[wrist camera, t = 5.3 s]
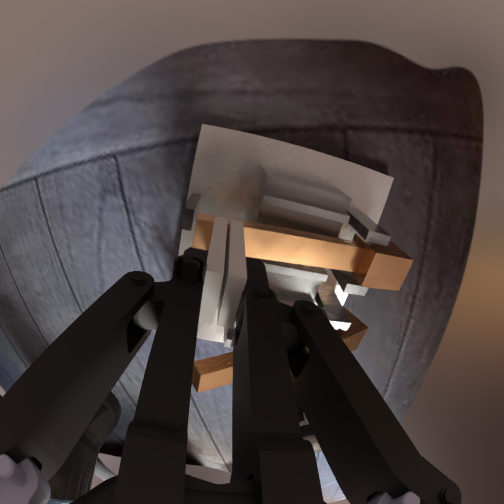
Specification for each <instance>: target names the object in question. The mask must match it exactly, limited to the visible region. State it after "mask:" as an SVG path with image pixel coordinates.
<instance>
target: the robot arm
mask: <svg viewBox="0 0 504 504" xmlns="http://www.w3.org/2000/svg"><path fill="white" fill-rule="evenodd" d="M227 222H228V218H223V217H218V216H215V221H214V226H213V231H212V236H211V241H210V246H209V251H208V250H203V249H198V248H193V247H189V248H188V249H186V250H185V251H184V253H183V255H181V256H178V257H177V258H176V259H175V263H174V271H173V278H172V280H170V281H166V282H154V278H153V277H152V276H151V275H150V274H148V273H146V272H141V271H133V272H129V273H127V274H125V275H124V276H123V277H122V278H120V279H119V280H118V281H117V282H116V283H115V284H114V285H113V286H111V287H110V288H109V289H108V290H107V291H106V292H105V293H104V294H103V295H102V296H101V297H99V298H98V299H97V300H96V301H95V302H94V303H93V304H92V305H91V306H90V307H89V308H88V309H87V310H86V311H85V312H83V313H82V314H81V315H80V316H79V317H78V318H77V319H76V320H75V321H74V322H73V323H72V324H71V325H70V326H69V327H68V328H67V329H66V330H65V331H64V332H63V333H62V334H61V335H60V336H59V337H58V338H57V339H56V340H55V341H54V342H53V343H52V344H51V345H50V346H49V347H48V348H47V349H46V350H45V351H44V352H43V353H42V354H41V355H40V356H39V357H38V358H37V359H36V361H35V362H34V363H33V364H32V365H31V366H30V367H29V368H28V369H27V370H26V371H25V372H24V373H23V375H22V376H21V377H20V378H19V379H18V380H17V381H16V382H15V383H14V384H13V386H12V387H11V388H10V389H9V390H8V391H7V392H6V394H5V395H4V396H3V397H2V396H1V395H0V504H327V503H325V502H324V501H323V496H322V490H321V484H320V479H319V473H318V468H317V463H316V457H315V452H314V448H313V445H312V444H311V442H310V441H308V440H304V439H303V437H302V435H301V429H300V424H299V418H298V412H297V406H296V401H295V395H296V398H297V400H298V402H299V404H300V406H301V408H302V410H303V412H304V414H305V417H306V419H307V421H308V423H309V425H310V427H311V429H312V431H313V433H314V435H315V437H316V439H317V441H318V444H319V446H320V448H321V450H322V452H323V454H324V456H325V458H326V460H327V462H328V464H329V466H330V468H331V470H332V472H333V474H334V476H335V478H336V480H337V482H338V484H339V486H340V488H341V490H342V492H343V493H344V495H345V497H346V498H347V500H348V501H349V502H350V504H460V503H461V492H460V489H459V487H458V486H457V485H456V484H455V483H454V482H453V481H451V480H450V479H449V478H448V477H447V476H445V475H444V474H443V473H442V472H440V471H439V470H438V469H437V468H435V467H434V466H433V465H432V464H431V463H430V462H428V461H427V460H426V459H425V458H424V457H422V456H421V455H420V454H419V452H418V451H417V449H416V448H415V446H414V445H413V443H412V442H411V440H410V438H409V437H408V435H407V434H406V432H405V431H404V429H403V428H402V426H401V425H400V423H399V422H398V420H397V419H396V417H395V416H394V414H393V413H392V411H391V410H390V408H389V407H388V405H387V404H386V402H385V401H384V399H383V398H382V396H381V395H380V393H379V392H378V390H377V389H376V387H375V386H374V385H373V383H372V382H371V380H370V379H369V377H368V376H367V374H366V373H365V371H364V370H363V368H362V367H361V366H360V364H359V363H358V361H357V360H356V358H355V357H354V355H353V354H352V353H351V351H350V350H349V348H348V347H347V345H346V344H345V343H344V341H343V340H342V338H341V337H340V335H339V334H338V333H337V331H336V330H335V328H334V327H333V326H332V324H331V323H330V321H329V320H328V318H327V317H326V316H325V314H324V313H323V311H322V310H321V309H320V308H319V307H318V306H317V305H316V304H314V303H313V302H309V301H306V300H298V301H296V302H294V304H293V307H292V306H289V305H287V304H284V303H282V302H280V301H278V300H277V298H276V294H275V292H274V291H273V290H272V289H270V288H269V283H268V278H267V272H266V267H265V265H264V263H263V262H262V261H261V260H259V259H254V258H248V257H246V255H245V240H244V226H243V222H242V221H238V220H233V219H231V221H230V226H229V230H228V235H227ZM226 235H227V239H226ZM218 298H219V305H218V319H217V326H223V327H229V328H234V325H235V321H236V328H235V331H234V335H233V338H232V342H231V346H230V347H231V348H233V400H232V474H231V479H230V483H227V484H214V483H211V482H207V481H204V480H201V479H198V478H196V477H192V476H190V475H187V474H185V469H186V453H187V438H188V432H187V429H188V416H189V405H190V394H191V384H192V375H193V365H194V357H195V348H196V340H197V331H198V323H199V322H200V323H205V324H211V325H213V321H214V316H215V312H216V307H217V302H218ZM152 329H157V330H156V334H155V337H154V341H153V344H152V348H151V352H150V355H149V359H148V363H147V367H146V370H145V374H144V378H143V382H142V386H141V390H140V394H139V399H138V403H137V407H136V412H135V416H134V419H133V421H131V422H130V424H129V426H128V429H127V433H126V437H125V442H124V447H123V452H122V457H121V462H120V468H119V473H118V475H117V476H114V477H112V478H109V479H107V480H105V481H104V482H102V483H100V484H99V485H98V486H96V487H95V488H93V489H91V490H90V488H91V483H92V479H93V474H94V470H95V466H96V461H97V457H98V453H99V450H100V447H101V445H102V444H103V443H104V441H105V440H106V439H107V437H108V436H109V435H110V434H111V432H112V431H113V430H114V428H115V427H116V426H117V424H118V422H119V418H120V414H121V407H120V404H119V402H118V401H117V399H116V398H115V397H114V396H113V395H112V394H111V393H110V391H111V390H112V388H113V387H114V385H115V384H116V382H117V381H118V379H119V378H120V377H121V375H122V374H123V372H124V371H125V369H126V368H127V366H128V365H129V363H130V362H131V361H132V359H133V358H134V356H135V355H136V353H137V352H138V351H139V349H140V348H141V346H142V345H143V343H144V342H145V341H146V339H147V338H148V336H149V335H150V333H151V331H152ZM307 348H308V350H307ZM294 393H295V395H294Z"/></svg>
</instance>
